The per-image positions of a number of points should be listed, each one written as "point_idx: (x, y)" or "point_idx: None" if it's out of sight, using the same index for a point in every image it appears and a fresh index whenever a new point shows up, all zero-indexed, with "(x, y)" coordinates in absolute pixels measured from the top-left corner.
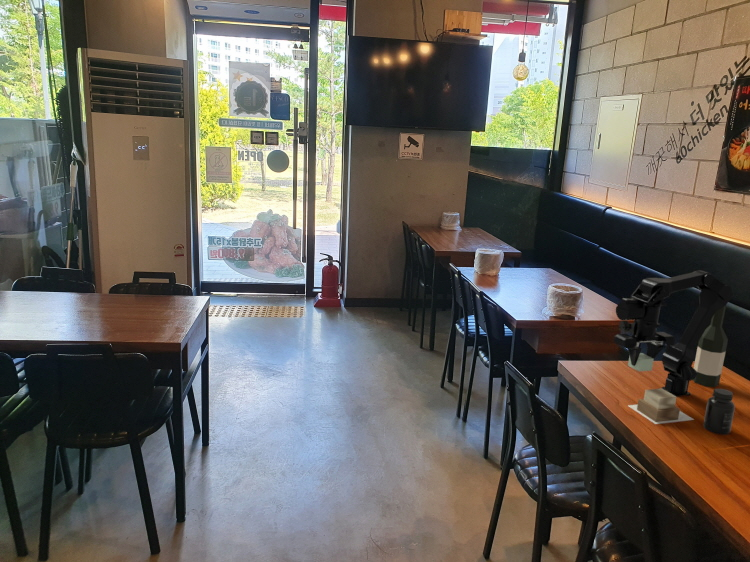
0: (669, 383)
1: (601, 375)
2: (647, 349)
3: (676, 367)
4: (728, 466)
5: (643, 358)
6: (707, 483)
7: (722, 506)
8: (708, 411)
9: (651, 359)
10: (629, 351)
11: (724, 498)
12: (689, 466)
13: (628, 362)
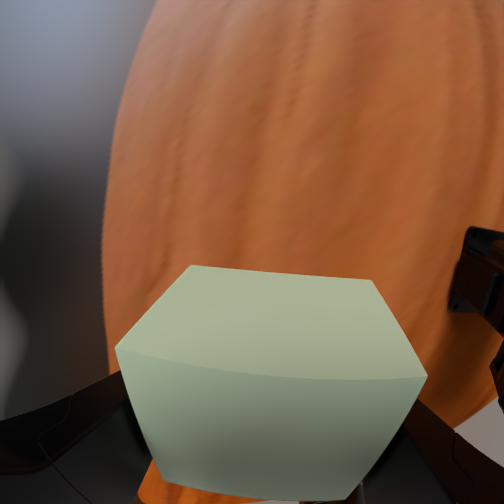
0: (476, 294)
1: (290, 5)
2: (438, 497)
3: (501, 403)
4: (220, 498)
5: (225, 484)
6: (157, 490)
7: (147, 498)
8: (301, 501)
9: (314, 496)
10: (32, 431)
11: (158, 499)
12: (156, 478)
13: (176, 282)
